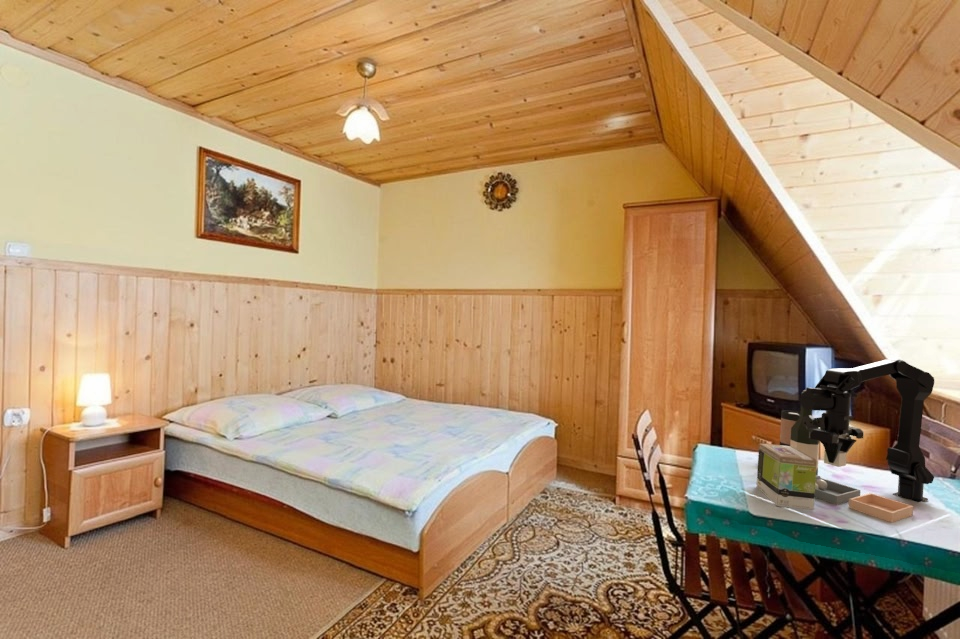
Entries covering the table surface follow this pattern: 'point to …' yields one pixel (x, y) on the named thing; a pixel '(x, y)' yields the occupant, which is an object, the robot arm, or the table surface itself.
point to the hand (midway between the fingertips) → (835, 461)
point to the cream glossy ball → (821, 484)
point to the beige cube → (837, 459)
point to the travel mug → (787, 426)
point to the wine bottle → (804, 437)
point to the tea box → (786, 476)
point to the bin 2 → (881, 507)
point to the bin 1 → (836, 492)
